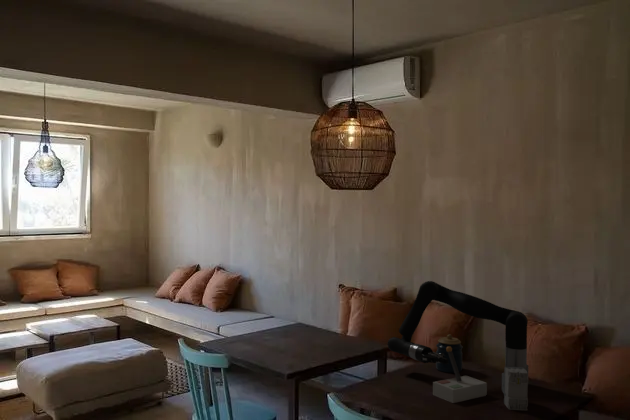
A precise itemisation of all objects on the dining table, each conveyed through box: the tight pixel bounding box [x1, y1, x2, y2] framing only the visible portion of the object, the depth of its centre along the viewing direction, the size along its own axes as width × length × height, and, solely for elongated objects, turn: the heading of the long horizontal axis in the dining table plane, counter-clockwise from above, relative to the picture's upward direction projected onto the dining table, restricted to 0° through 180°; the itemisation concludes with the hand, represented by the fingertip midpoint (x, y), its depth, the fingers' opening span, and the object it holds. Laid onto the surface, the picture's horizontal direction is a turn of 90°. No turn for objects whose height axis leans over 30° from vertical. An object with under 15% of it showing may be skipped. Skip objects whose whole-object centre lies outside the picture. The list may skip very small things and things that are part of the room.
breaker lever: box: [446, 346, 462, 382], centre depth 250 cm, size 3×3×15 cm
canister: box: [435, 333, 463, 374], centre depth 286 cm, size 13×13×18 cm
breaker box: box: [432, 375, 488, 404], centre depth 247 cm, size 20×12×6 cm, turn 121°
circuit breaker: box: [501, 366, 529, 411], centre depth 237 cm, size 8×14×15 cm, turn 174°
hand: (447, 361), depth 254 cm, fingers closed
